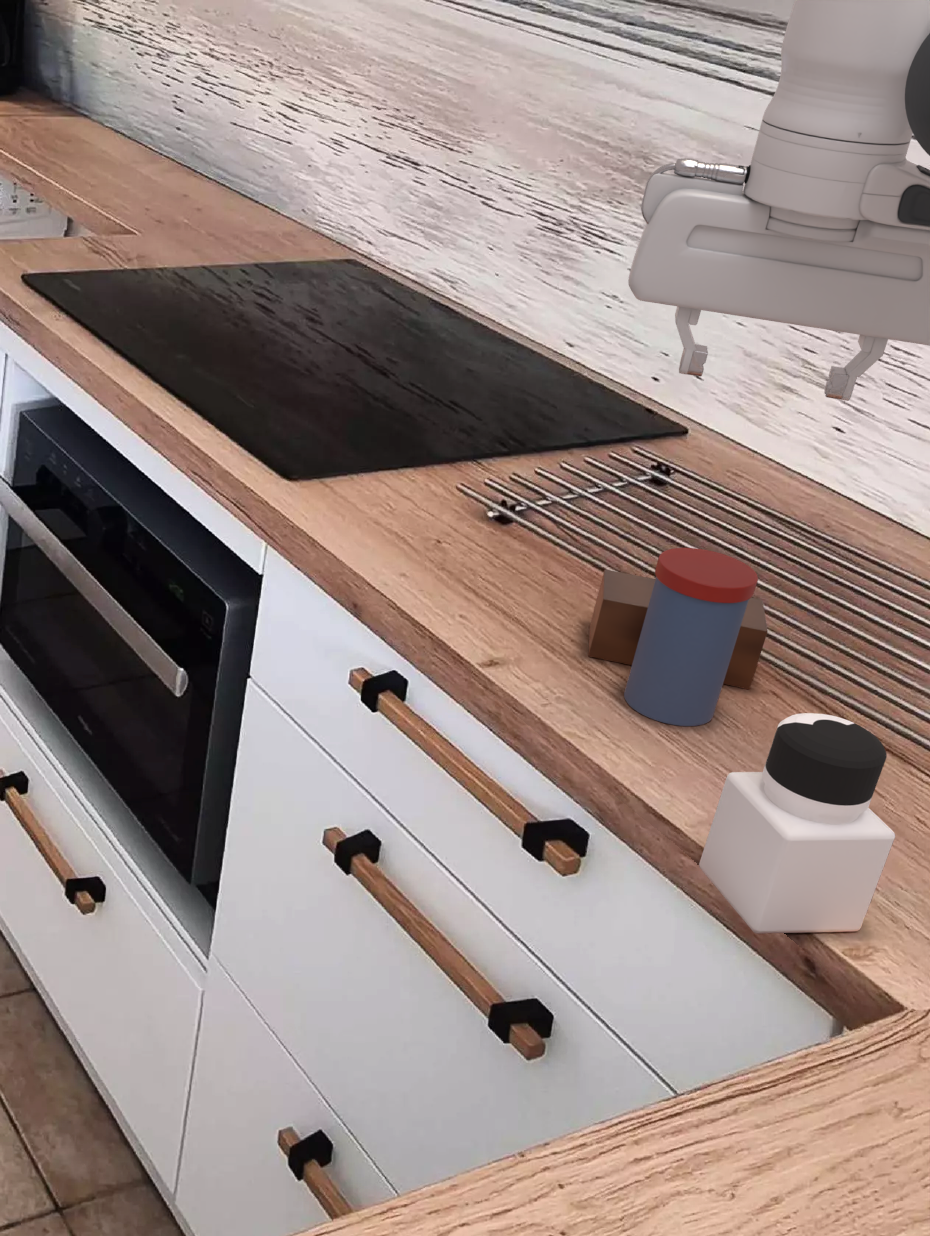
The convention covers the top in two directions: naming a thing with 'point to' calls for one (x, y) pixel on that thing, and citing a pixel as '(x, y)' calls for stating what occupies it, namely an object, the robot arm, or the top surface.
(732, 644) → the container
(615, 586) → the block
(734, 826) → the medicine bottle
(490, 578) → the top surface
